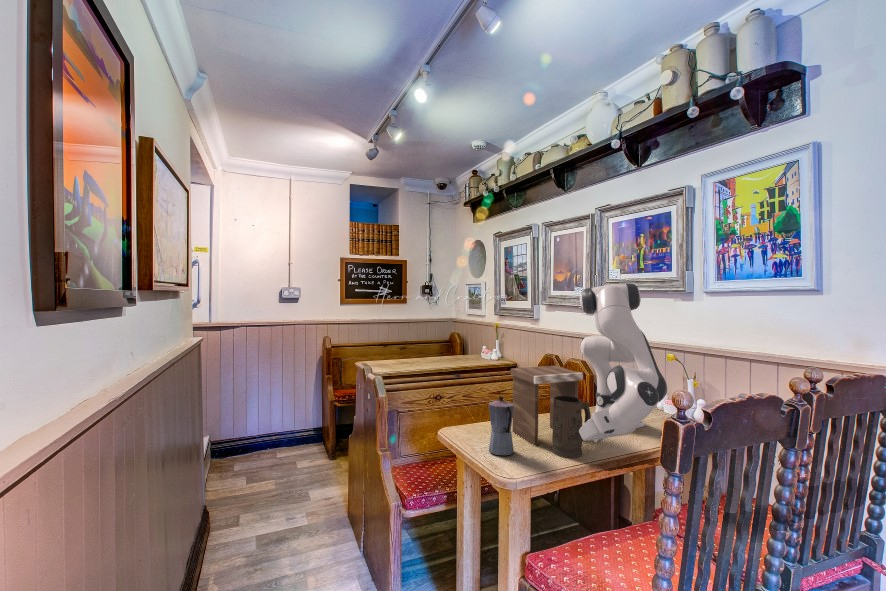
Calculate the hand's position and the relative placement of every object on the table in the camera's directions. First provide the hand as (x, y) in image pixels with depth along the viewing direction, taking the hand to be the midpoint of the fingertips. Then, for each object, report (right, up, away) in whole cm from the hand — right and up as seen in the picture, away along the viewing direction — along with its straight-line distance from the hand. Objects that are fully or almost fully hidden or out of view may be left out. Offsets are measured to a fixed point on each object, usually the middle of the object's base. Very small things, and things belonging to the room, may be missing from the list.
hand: (596, 439), depth 141 cm
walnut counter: (-11, -8, +28) cm, 31 cm away
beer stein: (-5, -8, +12) cm, 15 cm away
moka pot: (-31, -8, +10) cm, 33 cm away
